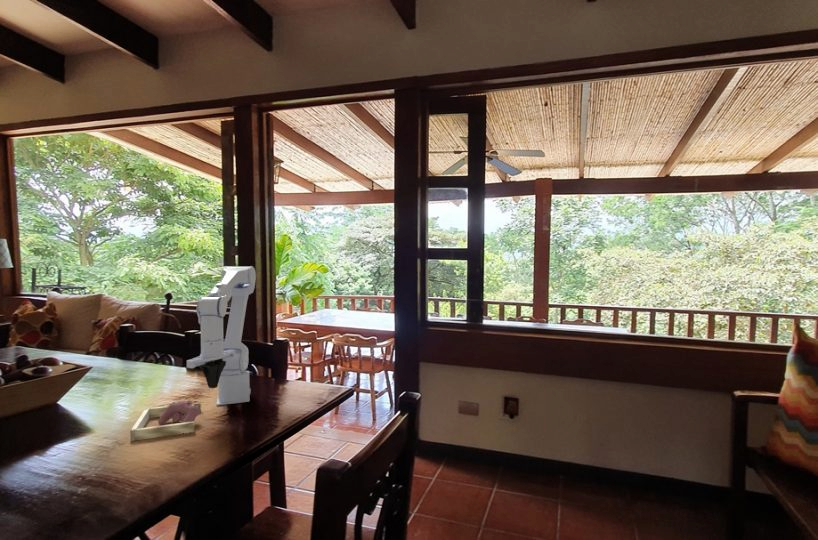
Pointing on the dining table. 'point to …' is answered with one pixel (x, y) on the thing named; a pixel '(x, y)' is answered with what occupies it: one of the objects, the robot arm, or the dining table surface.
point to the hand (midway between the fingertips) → (212, 387)
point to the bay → (159, 431)
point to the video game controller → (180, 412)
